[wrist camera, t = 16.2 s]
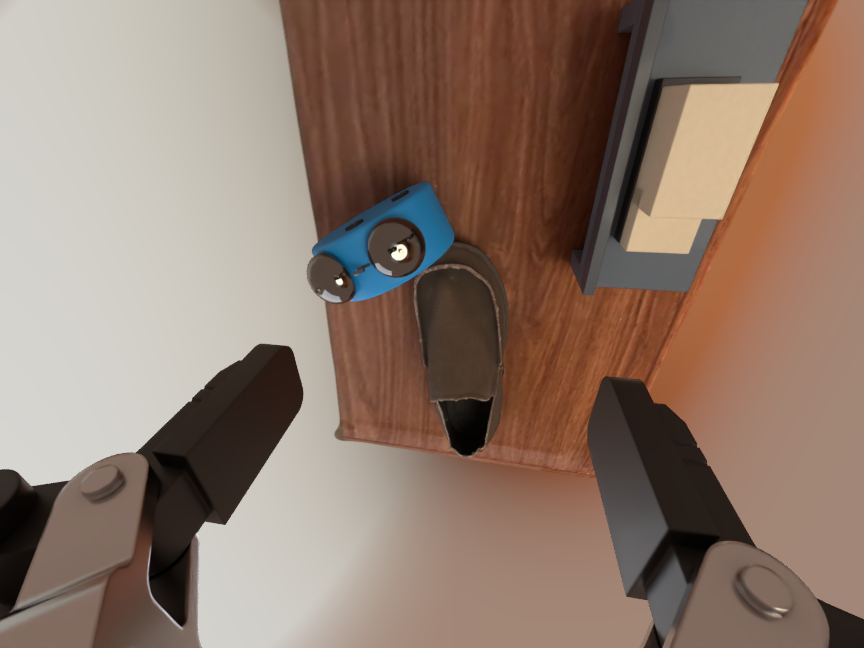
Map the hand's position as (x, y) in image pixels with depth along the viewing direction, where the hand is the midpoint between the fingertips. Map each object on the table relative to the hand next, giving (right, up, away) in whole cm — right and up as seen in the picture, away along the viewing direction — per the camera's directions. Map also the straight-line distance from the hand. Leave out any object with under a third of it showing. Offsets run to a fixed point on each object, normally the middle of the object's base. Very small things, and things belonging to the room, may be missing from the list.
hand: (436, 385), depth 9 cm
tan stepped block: (+19, +14, +20) cm, 31 cm away
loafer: (+5, 0, +39) cm, 39 cm away
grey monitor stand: (+20, +18, +25) cm, 36 cm away
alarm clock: (-4, +14, +32) cm, 35 cm away
